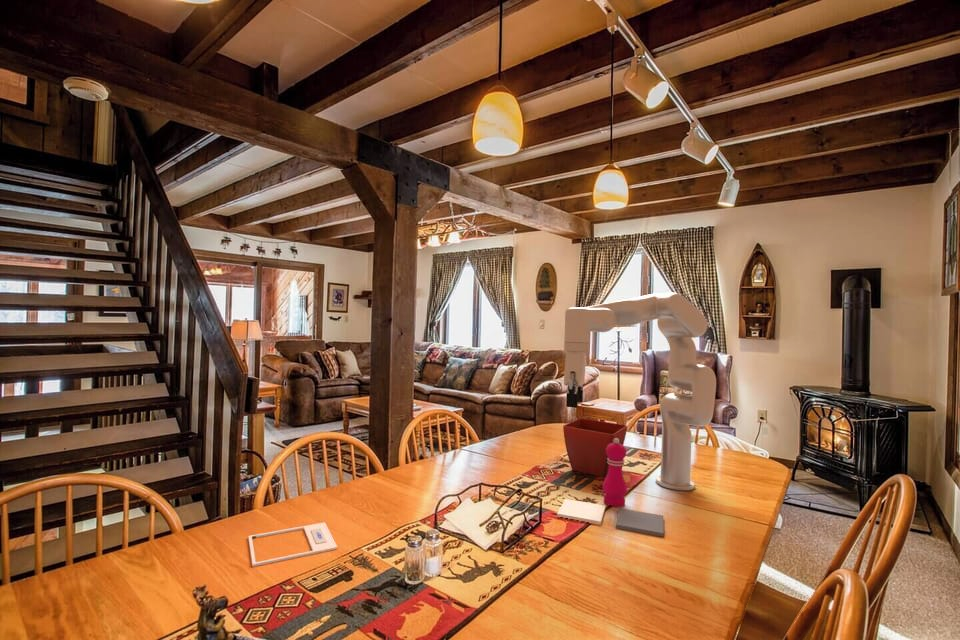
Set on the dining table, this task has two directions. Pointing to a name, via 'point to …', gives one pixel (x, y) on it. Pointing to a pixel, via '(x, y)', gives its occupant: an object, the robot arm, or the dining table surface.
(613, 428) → the plant pot
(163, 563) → the dining table surface
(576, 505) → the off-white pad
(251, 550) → the photo frame
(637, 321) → the robot arm
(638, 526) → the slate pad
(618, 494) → the pepper mill
